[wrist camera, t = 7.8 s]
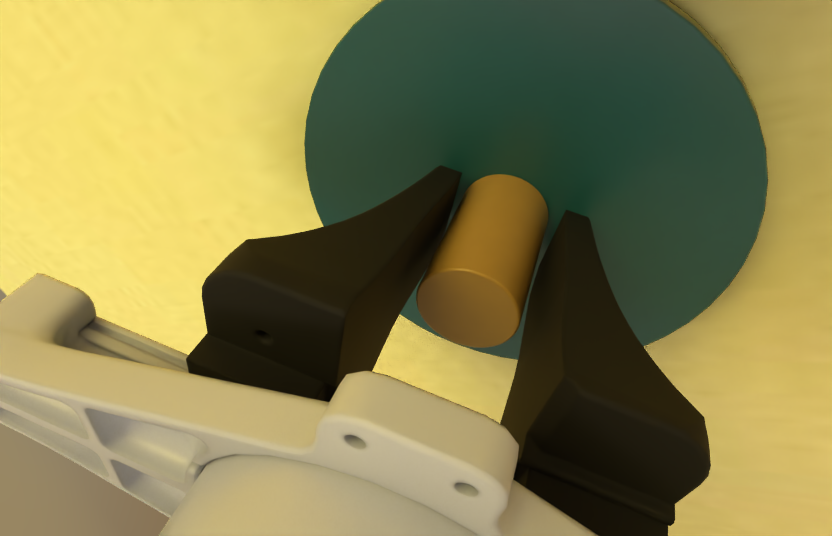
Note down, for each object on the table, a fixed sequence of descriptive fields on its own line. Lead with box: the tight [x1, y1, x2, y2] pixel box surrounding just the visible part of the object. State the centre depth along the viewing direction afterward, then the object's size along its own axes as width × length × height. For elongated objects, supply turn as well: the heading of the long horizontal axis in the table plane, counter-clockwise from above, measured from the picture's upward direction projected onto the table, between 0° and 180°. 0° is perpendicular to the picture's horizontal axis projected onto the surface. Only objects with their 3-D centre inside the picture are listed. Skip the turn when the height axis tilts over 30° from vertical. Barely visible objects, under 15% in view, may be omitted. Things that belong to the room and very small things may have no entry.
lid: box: [305, 0, 768, 360], centre depth 14 cm, size 12×12×5 cm
